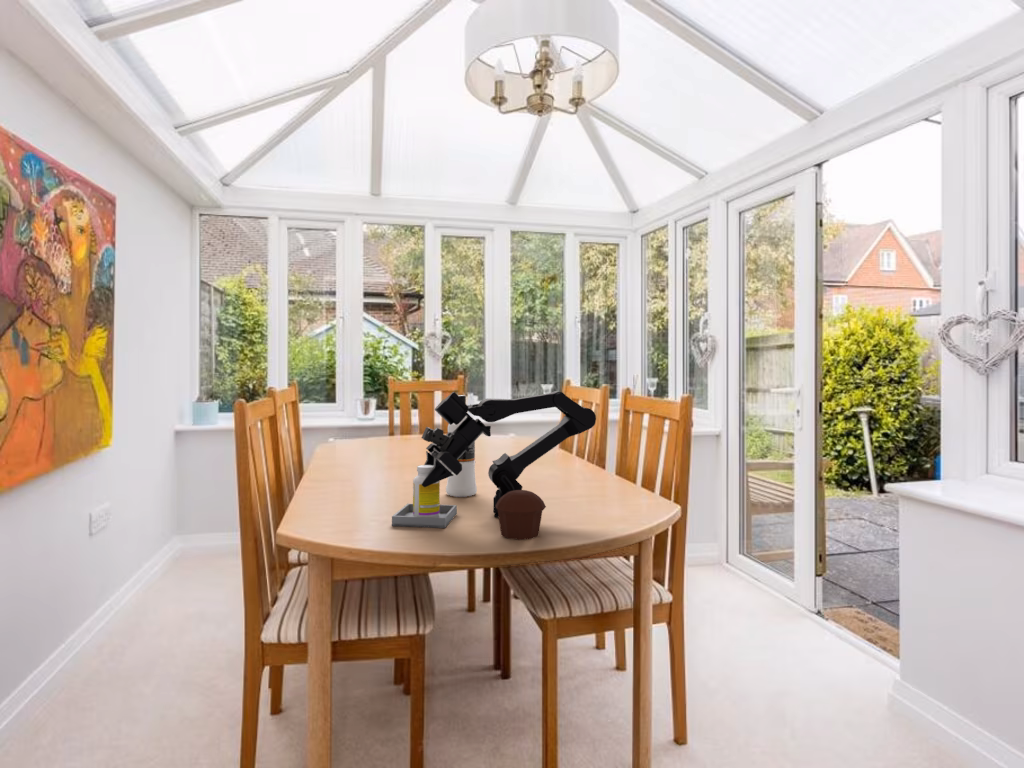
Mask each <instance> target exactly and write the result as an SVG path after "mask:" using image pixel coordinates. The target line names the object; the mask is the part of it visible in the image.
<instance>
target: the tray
mask: <svg viewBox="0 0 1024 768" xmlns="http://www.w3.org/2000/svg"><path fill="white" fill-rule="evenodd" d="M457 506H458V505H456V504H440V512H439V516H438V517H415V516H413V503H407V504H406V505H404V506H403V507H401V508H400V509H399V510H398V511H396V512H395V513H394V514H393V515H391V527H405V528H407V527H408V528H430V529H431V528H433V529H446V528H447V527H446V526H448V525H449V524H450V523H451V522H452V521H453V519H454V518H455V517H456V516H457V515H458V512H457V510H458V507H457ZM456 514H457V515H456ZM455 515H456V516H455ZM454 516H455V517H454ZM453 517H454V518H453ZM451 520H452V521H451ZM450 521H451V522H450ZM449 522H450V523H449Z"/></svg>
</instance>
